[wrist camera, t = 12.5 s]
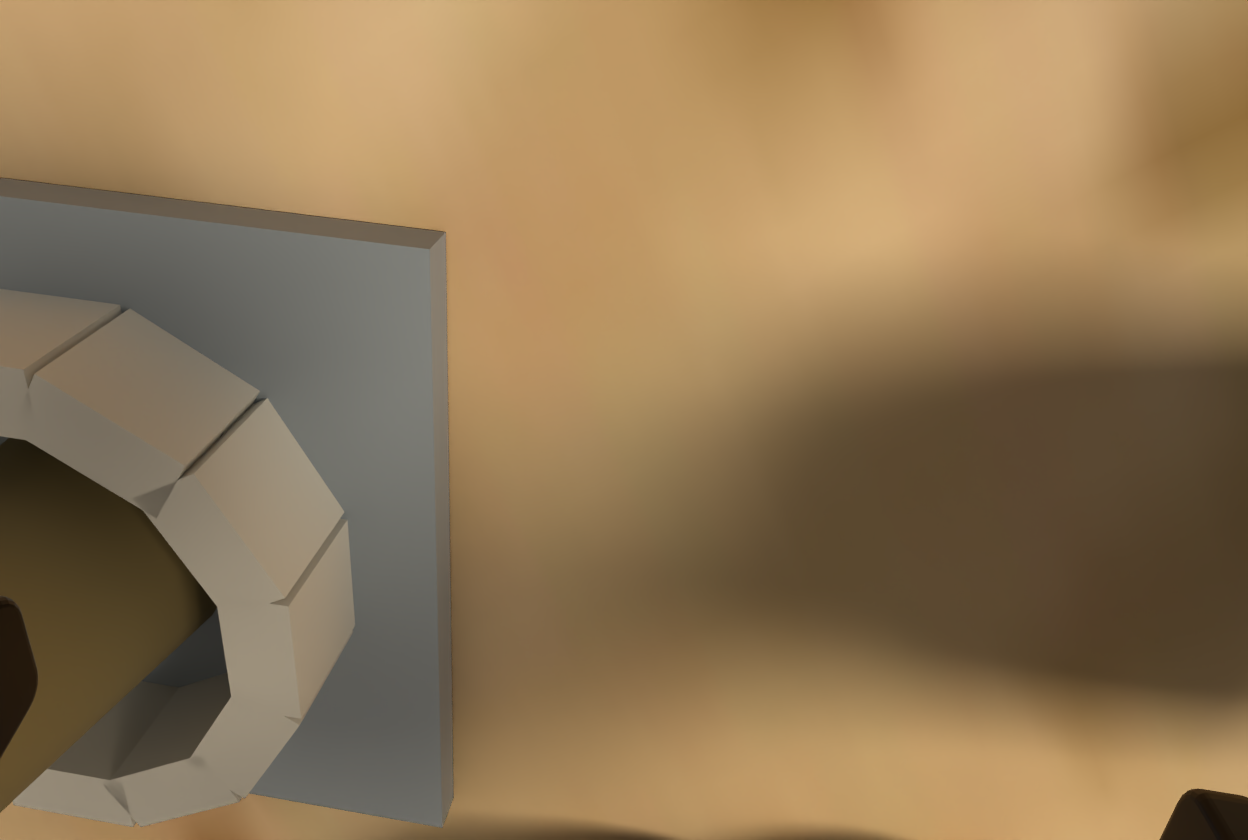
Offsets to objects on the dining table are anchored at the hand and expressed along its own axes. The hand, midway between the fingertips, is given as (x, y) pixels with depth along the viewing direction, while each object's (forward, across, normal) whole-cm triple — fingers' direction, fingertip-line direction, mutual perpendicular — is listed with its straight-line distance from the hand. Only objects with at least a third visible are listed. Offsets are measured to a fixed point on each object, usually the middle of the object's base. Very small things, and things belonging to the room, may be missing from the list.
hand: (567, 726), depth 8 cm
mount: (+13, +13, +9) cm, 20 cm away
